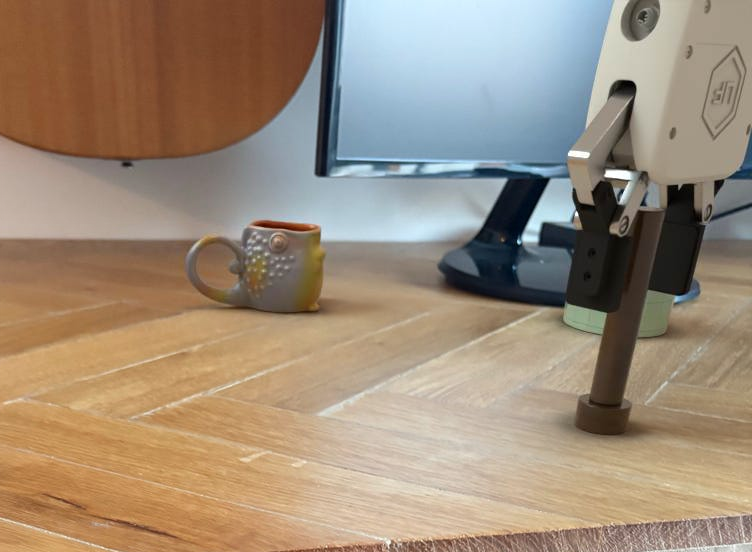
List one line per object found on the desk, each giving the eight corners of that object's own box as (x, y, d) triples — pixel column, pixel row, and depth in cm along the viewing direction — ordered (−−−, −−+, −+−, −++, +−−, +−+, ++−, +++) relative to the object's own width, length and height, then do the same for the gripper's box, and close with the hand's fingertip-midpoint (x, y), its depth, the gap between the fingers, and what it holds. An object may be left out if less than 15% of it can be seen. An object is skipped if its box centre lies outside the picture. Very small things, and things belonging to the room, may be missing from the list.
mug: (308, 295, 90) (313, 216, 87) (331, 313, 84) (337, 230, 81) (177, 298, 87) (177, 216, 84) (192, 317, 82) (192, 230, 78)
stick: (610, 416, 64) (657, 204, 57) (636, 433, 61) (689, 213, 55) (564, 418, 63) (607, 204, 57) (588, 435, 60) (636, 212, 54)
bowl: (633, 311, 90) (646, 253, 87) (687, 337, 83) (703, 274, 80) (545, 312, 88) (556, 253, 85) (592, 338, 81) (606, 274, 78)
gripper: (694, -96, 41) (603, 335, 51) (857, -59, 52) (757, 294, 61) (543, -88, 46) (485, 305, 55) (720, -55, 56) (646, 272, 66)
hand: (628, 297), depth 58 cm, fingers open, 7 cm apart
